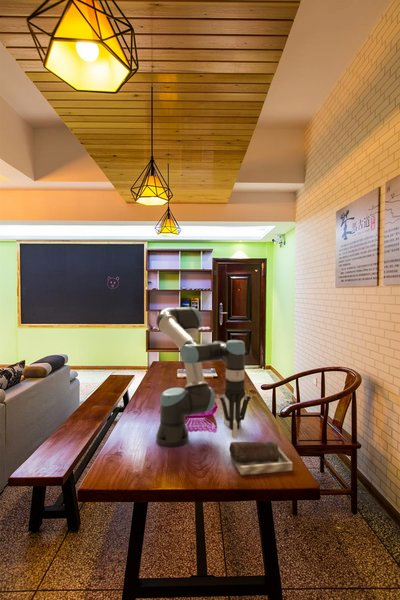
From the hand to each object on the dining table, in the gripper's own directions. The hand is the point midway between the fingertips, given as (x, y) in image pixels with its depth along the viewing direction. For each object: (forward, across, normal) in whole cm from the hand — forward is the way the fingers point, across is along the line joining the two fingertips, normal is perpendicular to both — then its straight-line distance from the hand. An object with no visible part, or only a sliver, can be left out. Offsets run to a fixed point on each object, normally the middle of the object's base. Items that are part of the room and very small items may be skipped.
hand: (234, 437), depth 131 cm
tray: (+12, +11, 0) cm, 16 cm away
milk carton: (+12, +10, +39) cm, 42 cm away
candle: (+8, -1, +3) cm, 8 cm away
